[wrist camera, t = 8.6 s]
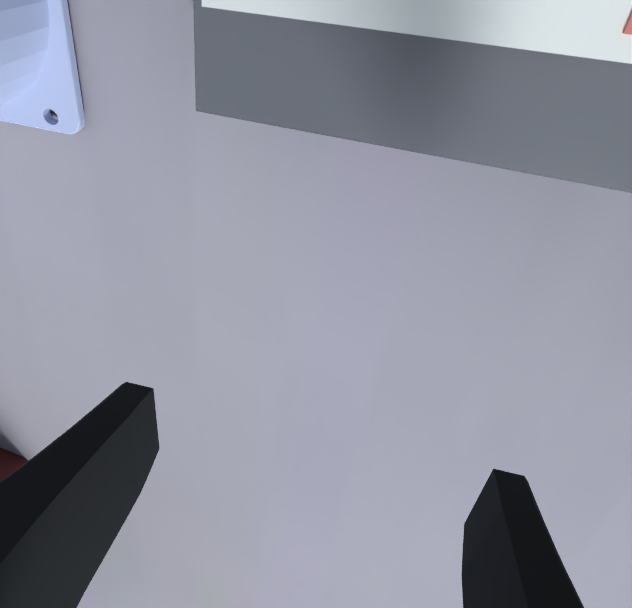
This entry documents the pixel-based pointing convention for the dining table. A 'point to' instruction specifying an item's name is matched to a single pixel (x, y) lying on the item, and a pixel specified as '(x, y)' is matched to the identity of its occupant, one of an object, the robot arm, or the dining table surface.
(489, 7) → the rocker
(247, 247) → the dining table surface
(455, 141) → the switch panel
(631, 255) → the dining table surface
